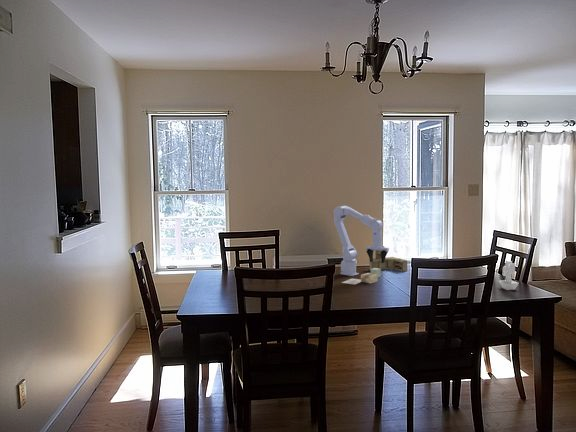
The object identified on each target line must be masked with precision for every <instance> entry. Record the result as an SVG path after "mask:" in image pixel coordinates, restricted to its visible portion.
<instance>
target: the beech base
mask: <svg viewBox="0 0 576 432" xmlns="http://www.w3.org/2000/svg"><path fill="white" fill-rule="evenodd" d="M378 278H379V277H378V275H376V274H371V273H370V272H367V273H362V274H360V280H361V282H360V283H367V284H373V283H377V282H378V281H379V279H378Z"/></svg>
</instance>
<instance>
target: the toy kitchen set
mask: <svg viewBox="0 0 576 432" xmlns="http://www.w3.org/2000/svg"><path fill="white" fill-rule="evenodd" d="M382 247H385V246H384V245H382ZM377 250H379V249H377ZM377 250H374V251H375V255H374V257H375V258H373V261H372V262H370V258H368V261H369V270H370V269H372V268H380V269H381V271H382V270H395V271H397V272H398V271H399V272H402V271H403V272H402V273H404V271H405V272H408V260H407V259H403V258H398V257H394V256H386V257H385V261H384V263H382V258H381V252H382V251H377Z"/></svg>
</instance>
